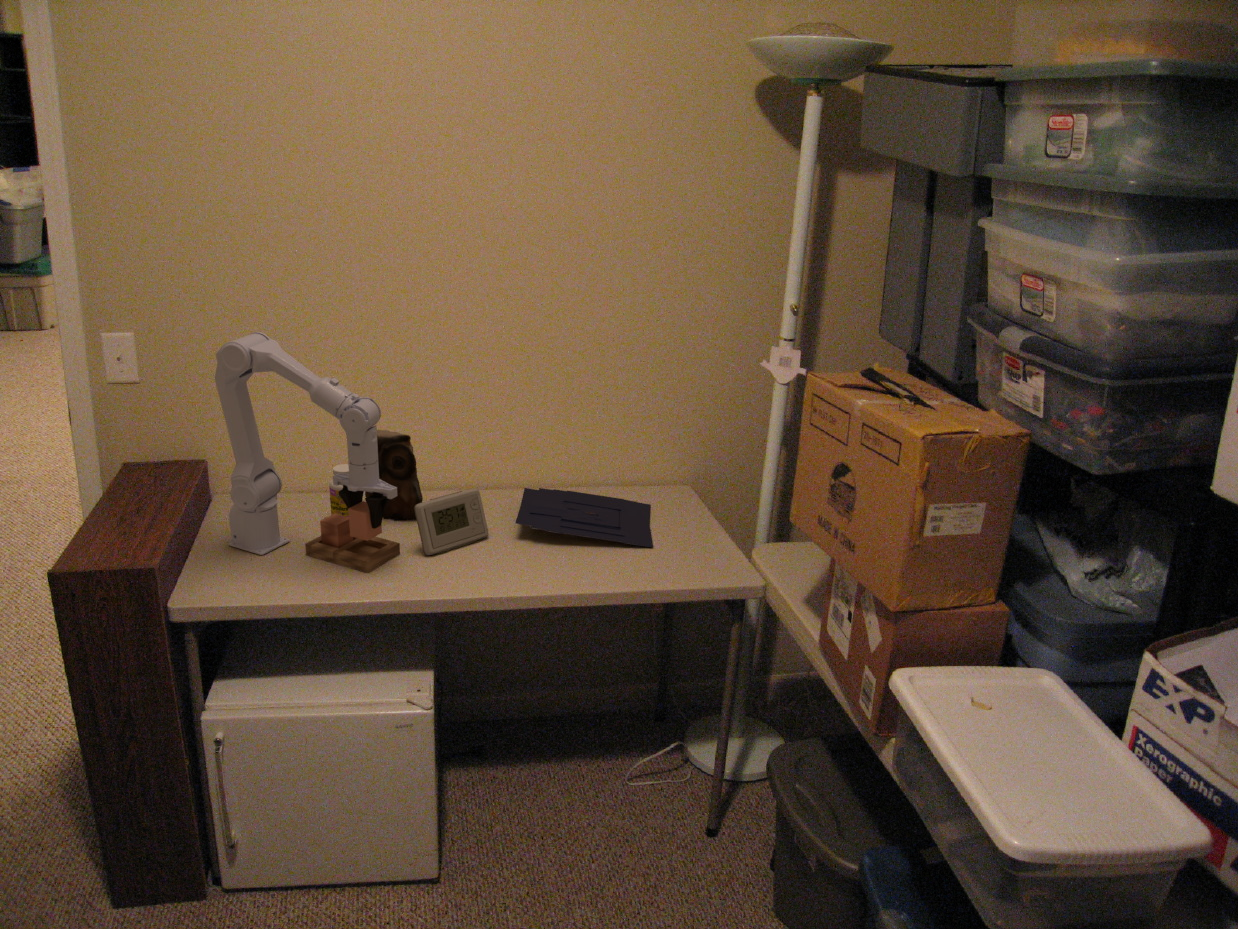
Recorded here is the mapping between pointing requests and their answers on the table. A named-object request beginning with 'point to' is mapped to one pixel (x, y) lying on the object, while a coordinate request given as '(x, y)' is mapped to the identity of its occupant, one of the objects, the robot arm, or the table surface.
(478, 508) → the digital clock
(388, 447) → the owl
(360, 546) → the walnut base
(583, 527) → the black flat block
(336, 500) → the supplement bottle
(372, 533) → the post block
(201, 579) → the table surface
